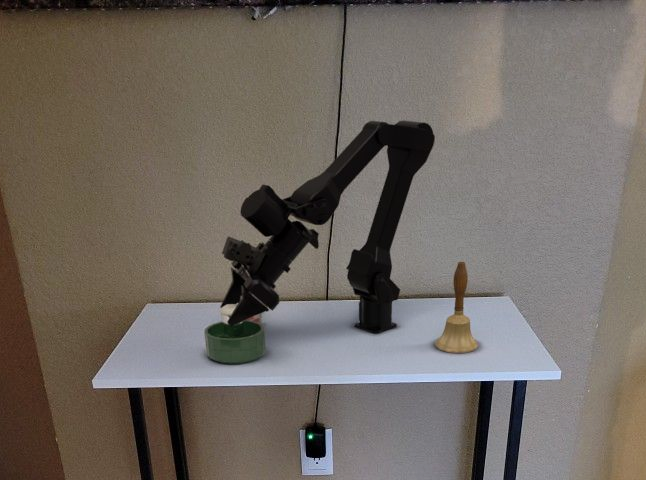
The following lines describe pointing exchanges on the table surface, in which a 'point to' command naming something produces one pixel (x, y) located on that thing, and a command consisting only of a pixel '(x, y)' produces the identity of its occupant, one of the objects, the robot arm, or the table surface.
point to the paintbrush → (256, 318)
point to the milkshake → (229, 331)
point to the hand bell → (458, 320)
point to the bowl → (235, 343)
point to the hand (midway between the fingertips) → (225, 316)
